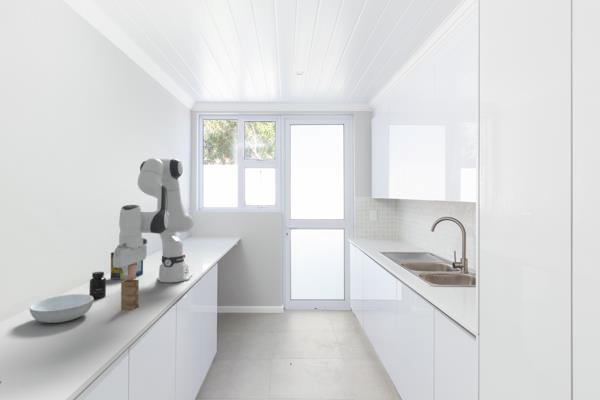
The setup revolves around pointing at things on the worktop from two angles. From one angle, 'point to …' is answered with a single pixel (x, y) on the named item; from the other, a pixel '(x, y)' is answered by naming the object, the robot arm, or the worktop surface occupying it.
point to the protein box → (118, 272)
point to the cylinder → (131, 272)
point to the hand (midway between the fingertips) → (130, 273)
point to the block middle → (129, 295)
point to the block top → (129, 285)
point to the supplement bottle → (98, 285)
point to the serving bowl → (61, 308)
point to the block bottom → (130, 304)
